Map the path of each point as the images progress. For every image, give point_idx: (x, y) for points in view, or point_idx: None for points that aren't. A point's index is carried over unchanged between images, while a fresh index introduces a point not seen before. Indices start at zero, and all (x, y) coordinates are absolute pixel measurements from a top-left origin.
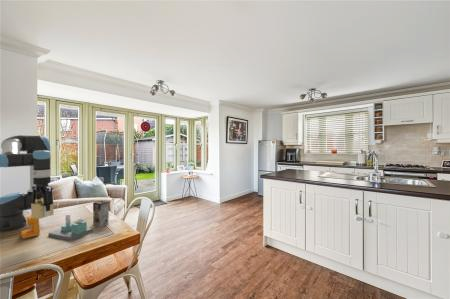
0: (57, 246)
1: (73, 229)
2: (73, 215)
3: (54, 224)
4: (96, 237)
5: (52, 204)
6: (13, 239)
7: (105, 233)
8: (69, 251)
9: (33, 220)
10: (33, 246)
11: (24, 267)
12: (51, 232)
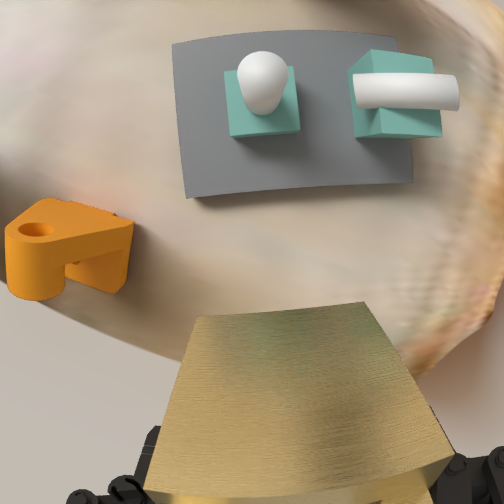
0: (398, 251)
1: (387, 136)
2: (16, 7)
3: (36, 101)
4: (474, 109)
5: (424, 419)
6: (82, 298)
7: (468, 59)
8: (480, 256)
9: (54, 271)
10: (274, 303)
11: (424, 375)
12: (195, 184)
